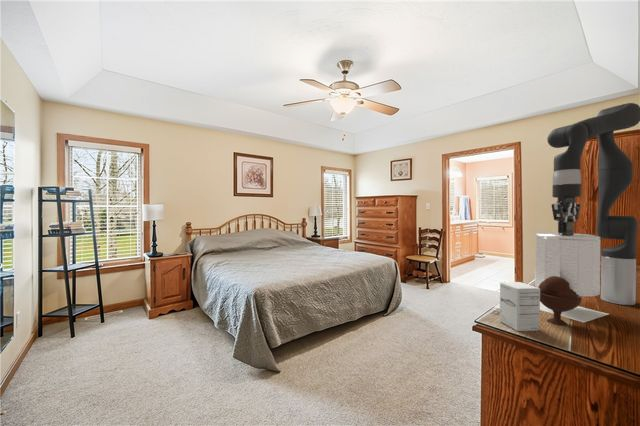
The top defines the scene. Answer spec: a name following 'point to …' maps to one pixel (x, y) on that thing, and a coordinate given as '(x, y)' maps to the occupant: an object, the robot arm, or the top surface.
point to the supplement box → (520, 306)
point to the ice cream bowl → (558, 298)
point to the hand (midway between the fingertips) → (565, 232)
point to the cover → (569, 260)
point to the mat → (577, 313)
